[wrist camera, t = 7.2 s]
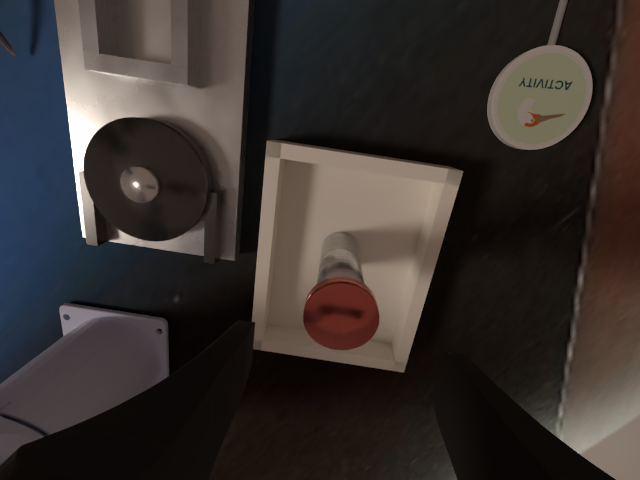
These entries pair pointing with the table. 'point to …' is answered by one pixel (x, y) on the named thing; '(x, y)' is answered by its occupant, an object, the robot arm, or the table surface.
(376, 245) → the tray
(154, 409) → the robot arm
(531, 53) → the sign
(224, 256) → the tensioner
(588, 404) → the table surface
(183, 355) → the table surface
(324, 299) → the pin
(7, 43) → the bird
